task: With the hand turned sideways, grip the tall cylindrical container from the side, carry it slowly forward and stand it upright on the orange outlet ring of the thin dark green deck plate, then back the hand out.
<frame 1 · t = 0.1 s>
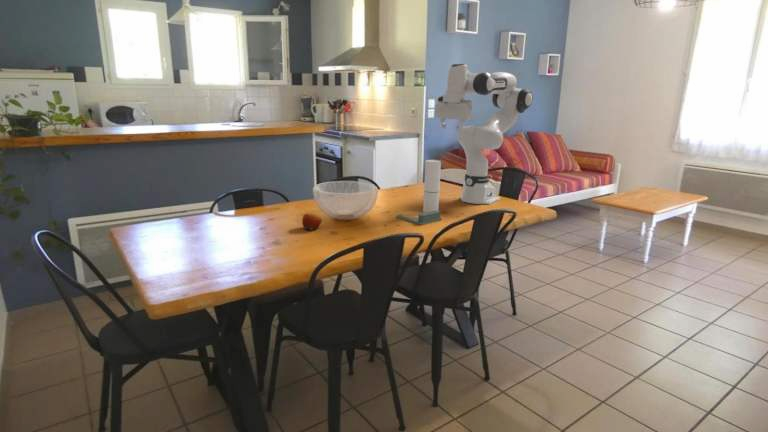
hand: (451, 129, 219), 39 cm above the table, tool pointing down, fingers open, 8 cm apart
cylindrical container: (430, 213, 219), on the table
fruit: (311, 229, 192), on the table
deck plate: (418, 218, 210), on the table
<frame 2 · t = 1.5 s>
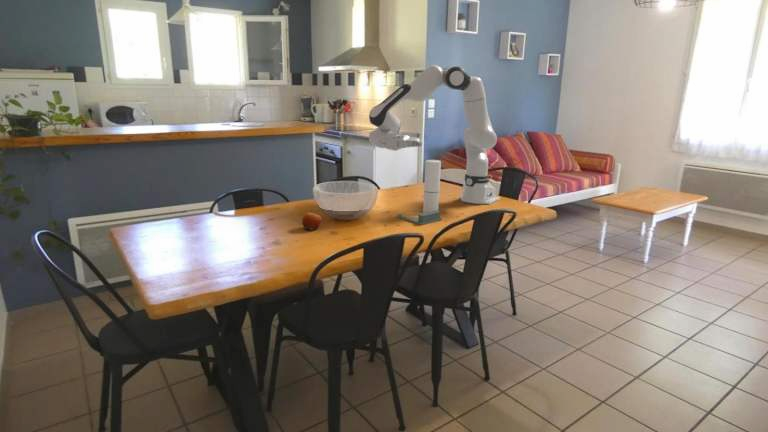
hand: (414, 145, 220), 31 cm above the table, tool horizontal, fingers open, 8 cm apart
nothing on the table moved.
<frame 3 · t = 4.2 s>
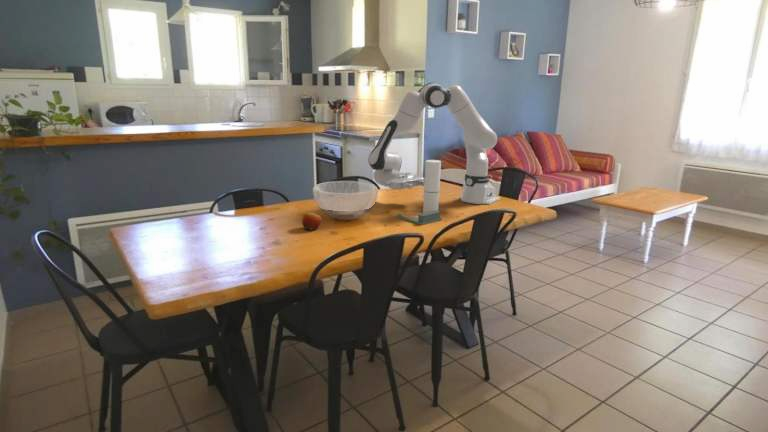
hand: (418, 185, 223), 12 cm above the table, tool horizontal, fingers open, 8 cm apart
nothing on the table moved.
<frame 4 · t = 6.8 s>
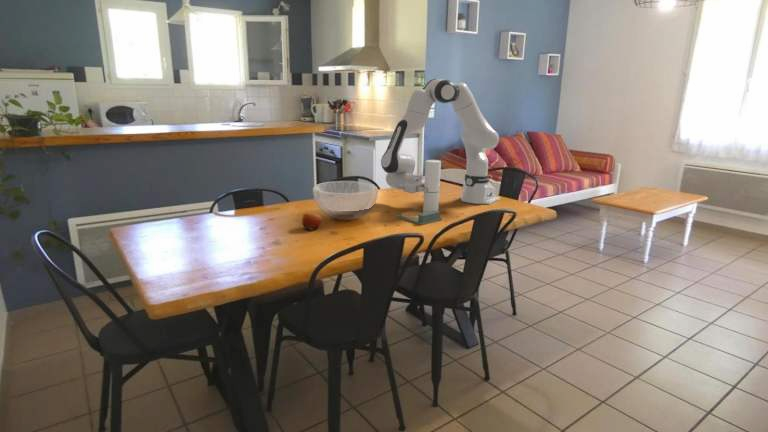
hand: (433, 188, 215), 12 cm above the table, tool horizontal, fingers closed on cylindrical container, 7 cm apart
cylindrical container: (430, 213, 219), on the table, touching gripper
everything else where it was.
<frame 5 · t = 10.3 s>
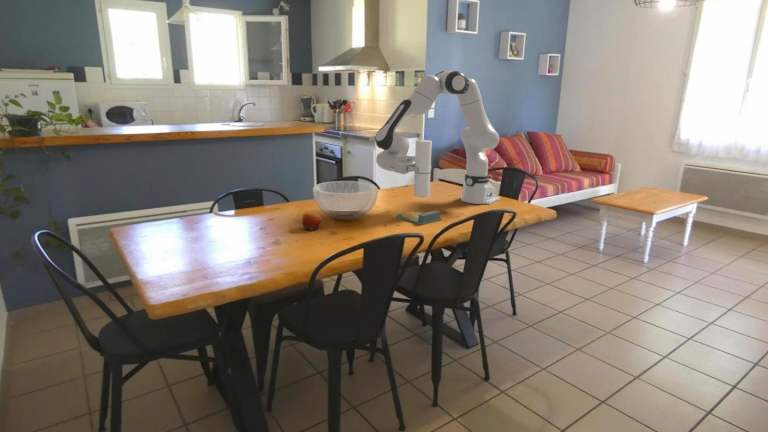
hand: (424, 168, 208), 22 cm above the table, tool horizontal, fingers closed on cylindrical container, 7 cm apart
cylindrical container: (421, 195, 212), point 9 cm above the table, touching gripper
everything else where it was.
when the fingers open (14 cm above the table, at t = 13.8 s): cylindrical container stays where it is, resting on deck plate.
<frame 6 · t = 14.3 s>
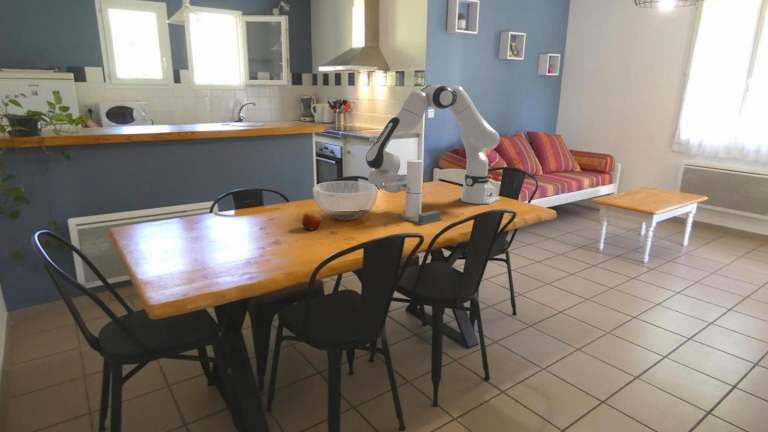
hand: (415, 188, 207), 14 cm above the table, tool horizontal, fingers open, 8 cm apart
cylindrical container: (413, 215, 211), point 1 cm above the table, touching deck plate
everything else where it was.
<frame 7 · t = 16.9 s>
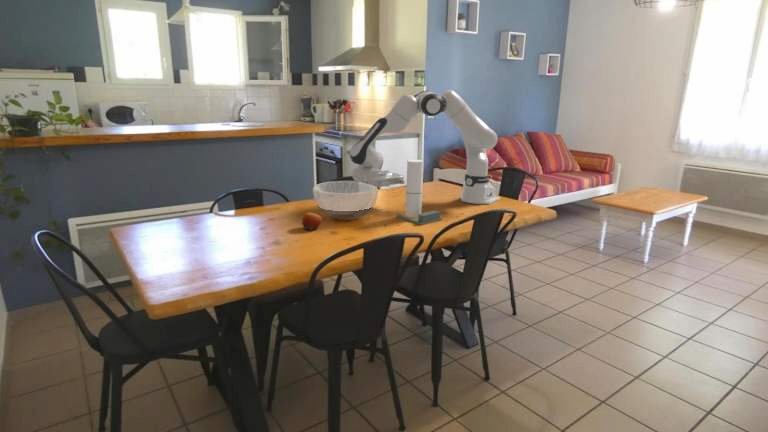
hand: (396, 183, 216), 14 cm above the table, tool horizontal, fingers open, 8 cm apart
nothing on the table moved.
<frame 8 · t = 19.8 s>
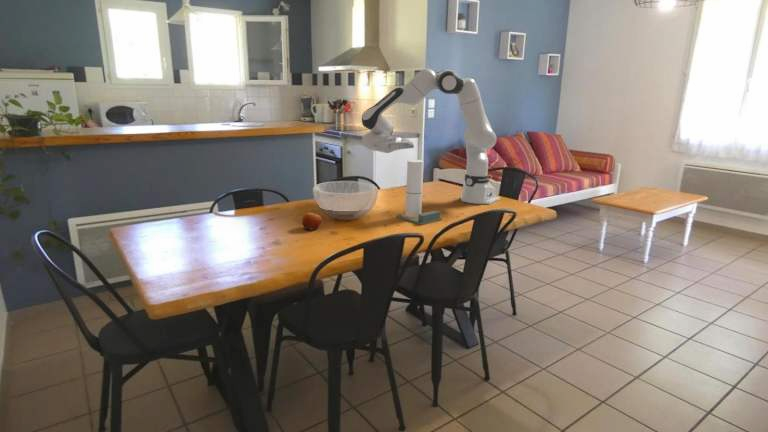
hand: (405, 147, 220), 30 cm above the table, tool horizontal, fingers open, 8 cm apart
nothing on the table moved.
at the end: cylindrical container 0.2 cm from the target spot on the deck plate, point 1.0 cm above the deck plate's base; cylindrical container tilted 0°; the gripper is holding nothing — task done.
